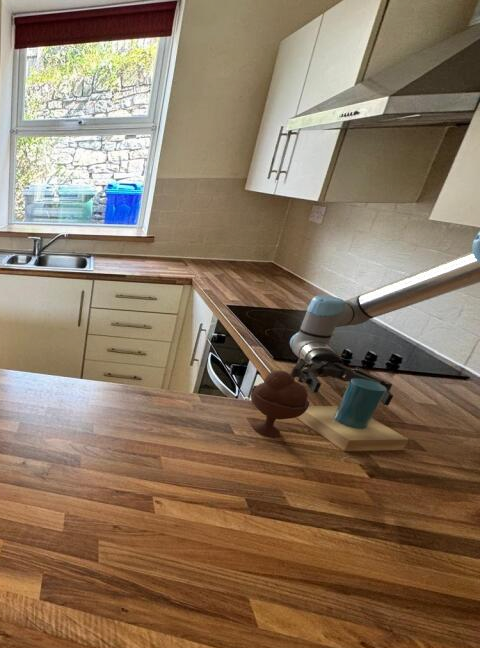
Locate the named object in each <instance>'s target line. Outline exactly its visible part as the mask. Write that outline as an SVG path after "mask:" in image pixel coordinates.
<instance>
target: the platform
mask: <svg viewBox="0 0 480 648" xmlns="http://www.w3.org/2000/svg"><path fill="white" fill-rule="evenodd" d="M338 406H339V405H309V406H308V409H307V410H306V411H305V412H304V413H303V414H302V415H300V416H299V417H295V418H296V420H299V421H300V422H301V423H303V424H304V425H306V426H307V427H309V428H310V429H311V430H313V431H314V432H316V434H319V435H320V436H322V437H323V438H325V439H326V440H327V441H329V442H330V443H332V444H333V445H335V446H336V447H337V448H339V449H340V450H342V451H343V452H368V451H371V452H372V451H373V452H375V451H377V452H378V451H404V449H405V447H406V445H407V444H408V442H409V440H410V439H409V438H408V437H405V436H404V435H402V434H400V433H398V432H397V431H395V430H394V429H392V428H390V427H388V426H386V425H385V424H383V423H382V422H380V421H377V420H376V419H374V418H372V419H371V421H370V423H369V425H368V426H367V428H365V429H357V428H352V427H349V426H346V425H344V424H342V423H340V422H338V421H337V420H335V419H334V415H335V412H336V410H337V408H338Z"/></svg>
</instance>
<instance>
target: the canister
mask: <svg viewBox="0 0 480 648" xmlns="http://www.w3.org/2000/svg"><path fill="white" fill-rule="evenodd" d="M386 390H387V389H386V387H384V386H383V385H381V384H379V383H376V382H373V381H370V380H366V379H360V378H353V379H351V381H350V382H349V383H348V385H347V387H346V390H345V391H344V393H343V396H342V398H341V400H340V402H339V404H338V405H337V406H338V408H337V410H336V412H335V415H334V419H335V420H337V421H338V422H340V423H342V424H344V425H346V426H349V427H352V428H357V429H365V428H367V426H368V425H369V423H370V421H371V419H373V417H374V415H375V413H376V411H377V409H378V408H379V405H380V403H381V400H382V398H383V396H384V394H385V392H386Z"/></svg>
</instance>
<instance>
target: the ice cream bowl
mask: <svg viewBox="0 0 480 648" xmlns="http://www.w3.org/2000/svg"><path fill="white" fill-rule="evenodd" d="M308 397H309V394H308V391H307V389H306V387H305V386H304V385H303V384H301V382H298V381H296V379H295V378H293V376H292V375H291V373H289V372H287V371H285V370H274V371H270V372H269V373H268V374H267V375H266V376H265V378H264V380H263V382H261V383H259V384H255V385H253V386H252V389H251V390H250V400H251V402H252V405H254V407H255V408H256V409H257V410H258V411H259V412H261V414H262V415H264V416H265V421H264V422H255V423H254V424H253V425H252V429H253V430H254V431H255V432H256V433H258V434H260V435H262V436H265V437H268V438H272V439H273V438H279V437H280V436H281V431H280V430H279V428H277V427H276V426H275V421H276V420H281V421H282V420H290V419H291V420H292V419H295V418H296V417H299V416H300V415H302V414H303V413H304V412H305V411H306V410H307V409H308V406H310V401H309V400H308Z"/></svg>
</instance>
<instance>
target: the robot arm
mask: <svg viewBox="0 0 480 648" xmlns="http://www.w3.org/2000/svg"><path fill="white" fill-rule="evenodd" d="M471 247H472V248H471V251H469V252H466V253H463V254H461V255H459V256H456V257H454V258H452V259H449V260H445V261H443V262H441V263H438V264H436V265H434V266H431V267H428V268H426V269H423V270H420V271H418V272H415V273H413V274H410V275H407V276H405V277H402V278H400V279H397V280H395V281H392V282H389V283H386V284H384V285H382V286H380V287H377V288H375V289H372V290H369V291H366V292H364V293H361V294H359V295H356V296H354V297H351V298H348V299H345V300H344V299H342V298H341V297H336V296H331V295H315V296H313V298H312V299H311V301H310V303H309V305H308V307H307V308H306V309H307V310H306V312H305V315H304V317H303V321H302V322H301V326H300V328H299V330H298V332H296V333H295V334H293V335H292V336H291V338H290V341H289V346H290V349H291V351H292V352H293V353H294V355H296V356H297V357H298V360H297V362H296V364H295V365H294V366H293V367H292V369H291V372H290V374H291V375H292V376H293V378H294V379H295V378H298V380H297V382H298V383H300V384H301V383H303V384H306V385H307V386H308V387H309V389H310V390H311V392H312V393H315V394H318V393H319V390H320V387H321V385H322V382H321V381H320V380H319V379H318V378H328V377H330V378H333V379H337V380H339V381H342V382H344V383H345V382H349V383H350V381H351V379H353V378H360V379H366V380H370V381H373V382H376V383H379V384H381V385H383V386H384V387H386V389H387V390H386V392H385V394H384V396H383V398H382V400H381V401H380V403H381V404H382V405H383V406H387V407H388V406H389V405H390V403H391V401H392V399H393V397H394V394H392V393H391V391H390V390H391V388H392V387H393V384H392V383H391V382H389V381H386V380H384V379H382V378H380V377H379V376H376V375H374V374H371V373H370V372H367V371H365V370H364V369H363V368H362V367H358V366H355V367H354V369H353V368H350V367H348V366H346V365H344V363H343V359H342V358H341V356H340V355H339V354H338V353H336V352H335V350H334V349H333V348H332V347H330V346H329V342H330V341H331V338H332V337H333V334H334V332H335V329H336V328H341V327H347V326H356V325H360V324H361V325H362V324H364V323H366V322H368V321H370V320H372V319H374V318H377V317H379V316H383V315H385V314H389V313H392V312H396V311H398V310H401V309H404V308H408V307H410V306H413V305H416V304H419V303H422V302H425V301H428V300H431V299H433V298H437V297H439V296H440V297H441V296H444V295H445V294H448V293H452V292H455V291H457V290H461V289H464V288H467V287H470V286H473V285H477V284H479V283H480V230H479V231H478V232H477V234H476V235H475V237H474V239H473V242H472V245H471Z"/></svg>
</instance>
